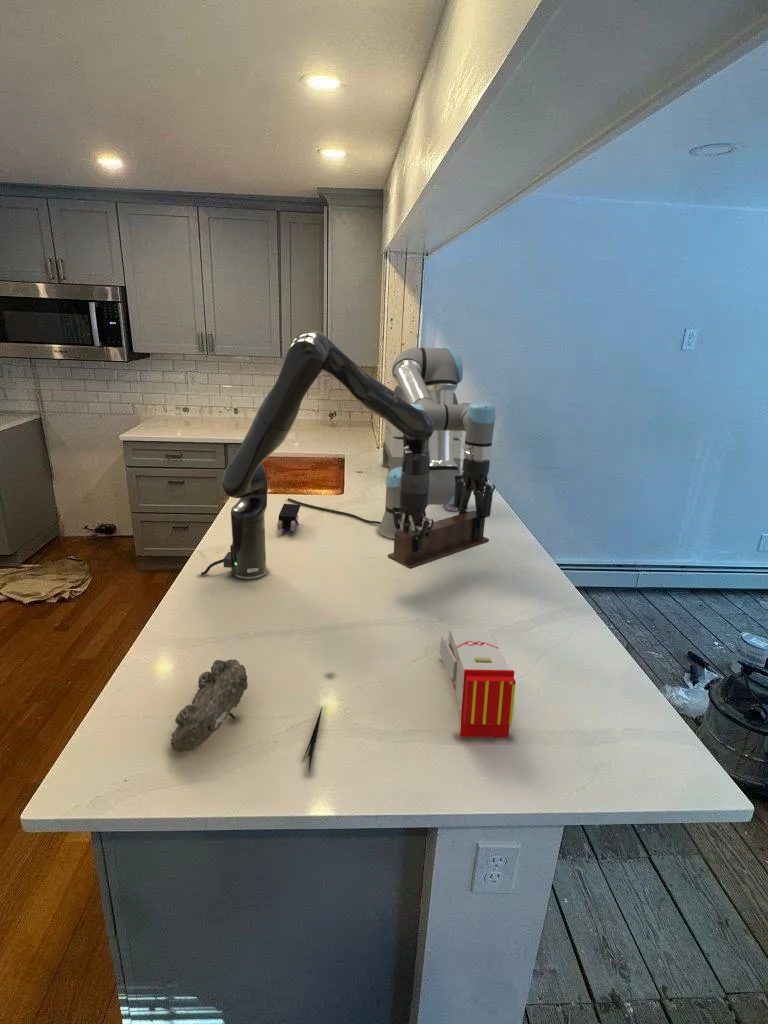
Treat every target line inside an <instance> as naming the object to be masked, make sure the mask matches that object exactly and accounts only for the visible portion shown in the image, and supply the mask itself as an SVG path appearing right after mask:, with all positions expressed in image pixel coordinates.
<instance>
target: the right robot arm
mask: <svg viewBox="0 0 768 1024" xmlns="http://www.w3.org/2000/svg"><path fill="white" fill-rule="evenodd" d="M463 364H464V363H463V359H462V356H461V354H460V353H459V351H458V350H457V349H455V348H448V347H411V348H407V349H406V350H404V351H402V352H400V354H398V356H397V357H396V358H395V359H394V361H393V364H392V367H391V373H392V378H393V381H394V382H395V383H396V384H397V385H399V386H400V387H401V389H402V391H403V394H404V396H405V398H406V401H407V403H408V404H410V405H412V406H413V407H415V408H416V409H420V410H423V411H425V412H426V413H427V414H428V415H429V416H430V418H431V419H432V421H433V424H434V432H433V434H432V436H431V437H430V438H429V453H430V466H429V493H428V505H427V506H436V505H438V506H441V505H443V506H445V505H447V504H454V507H455V508H457V509H458V510H457V511H458V515H459V514H463V513H466V512H469V511H468V505H469V502H470V500H471V499H470V498H471V496H472V493H473V496H474V505H475V511H476V517H475V518H474V522H473V532H472V539H476V538H479V537H480V531H481V528H482V527H483V520H484V518H485V519H487V518H489V517H491V512H492V504H493V495H494V491H495V489H496V485H495V484H491V483H490V482H489V478H488V474H489V473H490V465H491V461H490V459H491V457H492V447H493V438H494V429H495V421H496V407H495V405H494V404H493V403H488V402H481V401H480V402H477V401H475V402H461V403H458V405H453V392H454V393H455V391H456V390H457V388H458V384H460V383H461V382H462V380H463V377H464V376H463V374H464V365H463ZM453 431H463V432H465V436H464V437H465V439H464V448H463V449H464V451H463V457H464V458H463V459H462V470H460V471H458V465H457V464H456V463H455V462H454V450H453ZM401 473H402V467H397V468H394V469H392V470H390V471H389V470H388V473H387V475H386V480H385V504H384V505H385V507H384V508H385V509H384V513H383V515H382V519H381V521H379V520H378V521H377V520H369V519H365V518H362V517H360V516H358V515H356V514H353V513H349V512H346V511H340V510H336V509H330V508H326V507H321V506H317V505H312V504H308V503H305V502H301V501H299V500H295V499H292V498H289V497H288V498H287V501H290V502H292V503H294V504H297V505H300V506H305V507H308V508H312V509H316V510H321V511H326V512H329V513H330V512H331V513H334V514H335V513H336V514H340V515H344V516H349V517H352V518H354V519H358V520H359V521H362V522H365V523H367V524H376V525H378V533H379V534H380V535H381V536H382V537H385V538H387V539H389V540H394V537H395V533H397V532H399V530H398V529H396V528H395V525H394V518H393V511H392V508H393V507H397V506H400V504H399V494H400V478H401ZM398 524H400V521H399V520H398ZM416 527H418V526H416ZM409 529H411V526H410V527H409Z"/></svg>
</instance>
